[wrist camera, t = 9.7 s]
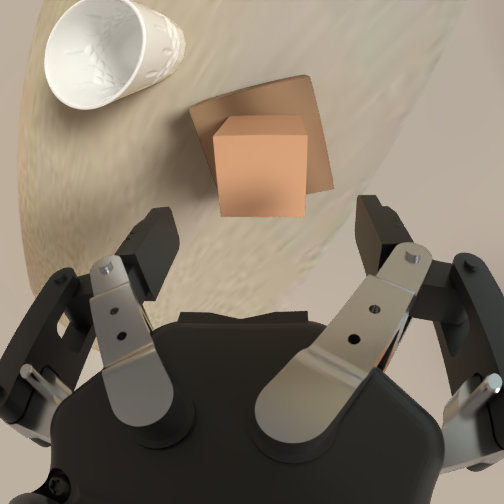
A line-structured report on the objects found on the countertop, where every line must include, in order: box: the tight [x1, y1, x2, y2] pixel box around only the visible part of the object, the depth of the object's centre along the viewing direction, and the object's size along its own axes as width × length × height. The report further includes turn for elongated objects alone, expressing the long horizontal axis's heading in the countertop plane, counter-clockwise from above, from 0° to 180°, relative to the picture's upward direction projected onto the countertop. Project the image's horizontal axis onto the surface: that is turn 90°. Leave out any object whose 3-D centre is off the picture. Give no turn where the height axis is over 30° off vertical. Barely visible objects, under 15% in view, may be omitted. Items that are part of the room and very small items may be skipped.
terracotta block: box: [213, 115, 308, 217], centre depth 19 cm, size 5×5×6 cm
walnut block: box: [189, 75, 334, 194], centre depth 23 cm, size 9×9×5 cm
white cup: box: [44, 0, 186, 110], centre depth 16 cm, size 8×8×10 cm
